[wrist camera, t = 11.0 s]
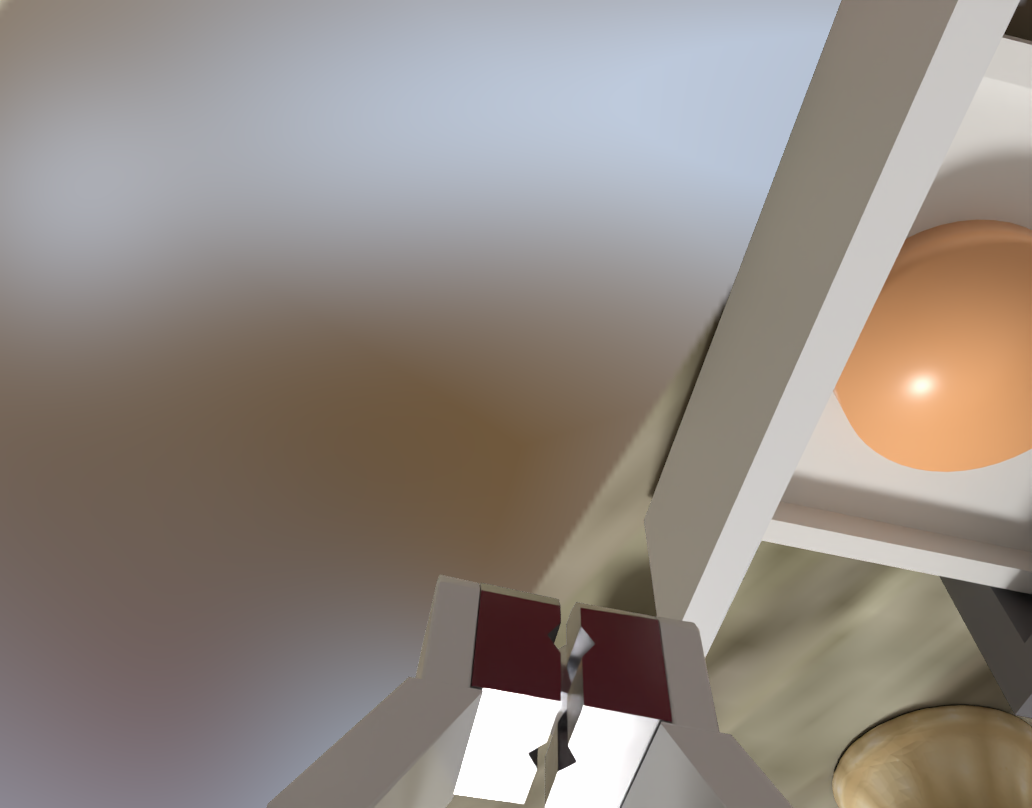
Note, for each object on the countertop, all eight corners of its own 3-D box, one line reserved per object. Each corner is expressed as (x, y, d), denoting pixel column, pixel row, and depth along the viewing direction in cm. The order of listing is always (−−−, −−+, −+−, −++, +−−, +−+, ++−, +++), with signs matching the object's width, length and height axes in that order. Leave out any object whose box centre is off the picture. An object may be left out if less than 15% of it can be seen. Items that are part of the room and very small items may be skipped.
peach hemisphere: (788, 413, 24) (801, 445, 23) (885, 193, 21) (908, 216, 20) (1003, 457, 25) (1029, 492, 23) (1131, 250, 22) (1170, 275, 20)
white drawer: (644, 520, 28) (663, 663, 23) (881, -106, 19) (1001, -98, 14) (1024, 595, 29) (1123, 748, 24) (1425, 36, 20) (1721, 93, 15)
